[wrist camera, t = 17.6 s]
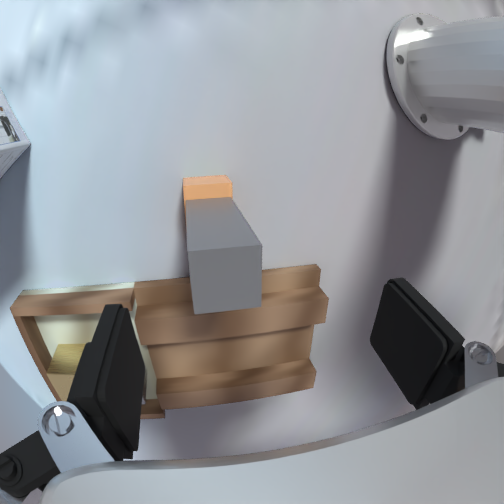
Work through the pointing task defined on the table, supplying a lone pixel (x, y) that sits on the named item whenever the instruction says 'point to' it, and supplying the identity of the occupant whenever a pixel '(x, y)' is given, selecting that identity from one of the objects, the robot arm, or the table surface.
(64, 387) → the tan yellow cube
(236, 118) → the table surface
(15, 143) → the light bulb box
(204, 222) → the gray orange block
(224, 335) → the slot board
